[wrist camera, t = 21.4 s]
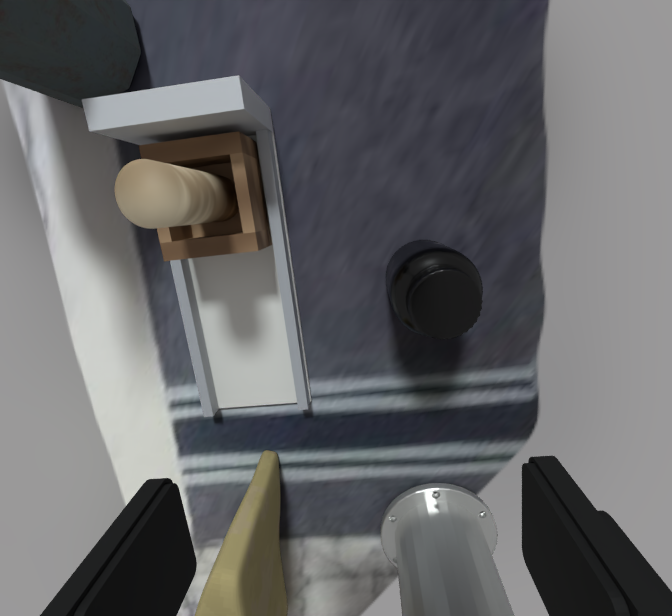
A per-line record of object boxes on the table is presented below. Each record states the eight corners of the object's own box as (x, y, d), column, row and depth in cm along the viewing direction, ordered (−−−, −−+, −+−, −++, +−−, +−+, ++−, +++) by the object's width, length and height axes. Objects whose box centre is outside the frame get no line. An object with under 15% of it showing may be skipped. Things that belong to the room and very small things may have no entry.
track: (311, 399, 41) (298, 451, 32) (210, 407, 42) (170, 459, 33) (270, 108, 34) (239, 75, 26) (150, 125, 35) (81, 99, 27)
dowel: (243, 218, 35) (186, 224, 24) (201, 223, 36) (123, 232, 24) (235, 172, 34) (172, 154, 23) (192, 177, 35) (107, 163, 23)
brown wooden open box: (272, 245, 37) (258, 250, 32) (189, 254, 37) (164, 261, 32) (256, 141, 34) (239, 131, 30) (169, 153, 35) (138, 145, 30)
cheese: (227, 440, 43) (159, 558, 29) (315, 456, 43) (291, 583, 28) (211, 594, 49) (147, 758, 34) (288, 609, 49) (257, 780, 34)
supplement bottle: (457, 235, 36) (503, 250, 24) (457, 308, 38) (499, 353, 26) (382, 240, 37) (392, 256, 25) (385, 311, 38) (395, 357, 27)
